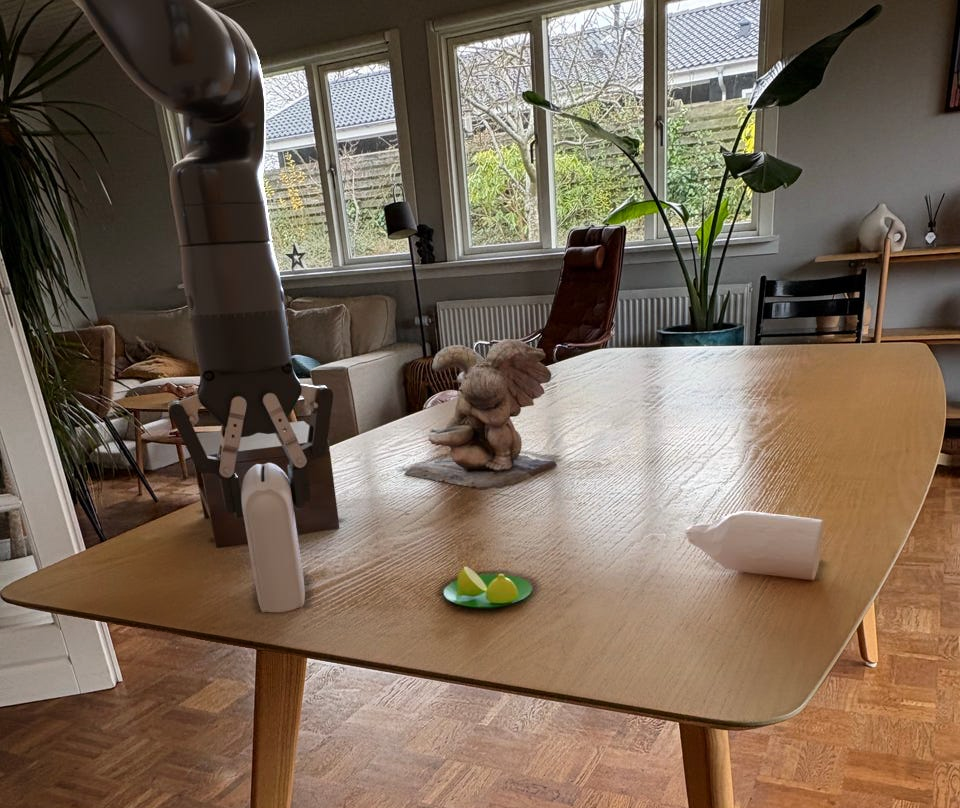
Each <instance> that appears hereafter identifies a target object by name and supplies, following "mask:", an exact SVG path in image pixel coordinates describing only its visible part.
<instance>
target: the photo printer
mask: <svg viewBox="0 0 960 808" xmlns="http://www.w3.org/2000/svg"><path fill="white" fill-rule="evenodd" d="M241 501H242V510H243V516H244V521H245V527H246V533H247V539H248V543H247V544H248V550H249V556H250V562H251V568H252V569H251V570H252V574H253V575H252V576H253V580H254V585H255V590H256V597H257V600H258V604H259V607H260V610H261V612H262V613H265V612H266V613H267V612H269V613H284V612H290V611H293V610H295V609H298V608H302V607H303V606H304V605H305V598H306V593H305V592H306V590H305V578H304V568H303V563H302V557H301V551H300V544H299V537H298V536H299V535H297V529H296V522H295V515H294V508H293V500H292V493H291V486H290V482H289V479H288V477H287V476H286V474H285V473H284V471H283V470H282V469H281V468H280V467H278V466H277V465H275V464H272V463H267V464H256V465H254V466H253V467H251V468H250V469H249V470H248V472H247V473H246V475H245V477H244V480H243V483H242V490H241Z"/></svg>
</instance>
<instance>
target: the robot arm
mask: <svg viewBox="0 0 960 808" xmlns="http://www.w3.org/2000/svg"><path fill="white" fill-rule="evenodd" d="M72 1H73V3H75V4H76V5H77V6H78V7H79V8H80V9H81V10H82V11H83V13H84V15H85V16H86V18H87V20H88V21H89V23H90V25H91V26H92V28H93V29H94V31H95V32H96V33H97V35H98V36H99V38H100V39H101V40H102V42H103V44H104V45H105V46H106V48H107V50H108V51H109V52H110V53H111V55H112V56H113V58H114V60H115V61H116V62H117V64H118V65H119V66H120V67H121V68H122V71H124V72H125V74H126V75H127V77H129V78H130V79H131V80H132V81H133V82H134V83H135V85H137V87H139V88H140V89H141V90H142V91H143V92H144V93H145V94H146V95H147V96H148V97H149V98H150V99H152V100H153V101H154V102H156V103H157V104H158V105H160V106H161V107H163V108H164V109H166V110H168V111H170V112H173V113H175V114H178V115H181V117H182V118H181V119H182V127H183V128H182V130H183V150H184V151H183V152H184V153H183V154H184V155H183V158H182V159H180V160H178V161H177V162H176V163H175V164H174V165H173V166H172V168H171V170H170V173H169V189H170V191H169V192H170V198H171V199H170V200H171V202H172V203H171V205H172V208H173V209H172V211H173V216H174V221H175V222H174V223H175V227H176V232H177V239H178V244H179V247H180V257H181V258H180V259H181V272H182V273H181V277H182V285H183V291H184V295H185V303H186V306H187V310H188V316H189V322H190V328H191V333H192V338H193V344H194V349H195V354H196V355H195V356H196V360H197V366H198V371H199V383H198V387H197V391H196V394H193V395H191V396H188V397H185V398H183V399H180V400H177V399H173V400H170V401H169V402H168V403H167V411H168V413H169V415H170V417H171V419H172V421H173V424H174V425H175V428H176V430H177V432H178V434H179V435H180V438H181V440H182V442H183V444H184V446H185V449H186V450H187V452H188V454H189V456H190V458H191V460H192V462H193V465H194V464H195V466H196V468H197V470H198V471H199V472H201V473H211V474H215V475H217V476H219V478H220V483H221V488H222V493H223V499H224V504H225V506H226V508H227V510H228V512H229V513H234V515H235V517H236V519H241V518H244V516H243V510H242V501H241V491H240V486H239V480H238V476H237V475H236V473H235V472H234V469H235V463H236V457H237V452H238V450H239V444H240V439H241V437H248V436H251V435H254V434H256V433H264V434H273V433H275V434H276V436H277V438H278V439H279V441H280V443H281V445H282V447H283V449H284V451H285V453H286V455H287V456H288V458H289V461H290V465H287V466H288V473H289V480H290V486H291V493H292V500H293V505H294V507H295V508H296V509H297V510H299V509H305V503H304V502H309V500H310V496H311V495H310V487H309V480H308V473H307V466H308V464H309V463H310V462H311V461H312V460H314V459H316V458H321V457H323V456H324V455H325V453H326V447H327V440H329V439H328V438H329V431H330V424H331V416H332V409H333V401H334V392H333V390H332V389H331V388H329V387H327V386H326V385H323V384H317V385H311V384H305V383H301V381H300V379H299V378H298V376H297V375H296V373H295V371H294V367H293V361H292V354H291V353H292V352H291V347H290V339H289V331H288V323H287V317H286V309H285V308H286V307H285V299H286V298H285V291H284V289H283V287H282V280H281V274H280V273H281V272H280V269H279V264H278V261H277V258H276V254H275V249H274V245H273V242H272V241H273V240H272V239H273V238H272V232H271V231H272V230H271V225H270V224H271V223H270V217H269V208H268V205H267V204H268V202H267V196H266V192H265V187H264V165H265V156H266V155H265V153H266V115H267V114H266V109H267V108H266V90H265V84H264V78H263V72H262V68H261V64H260V59H259V56H258V54H257V50H256V47H255V46H254V44H253V42H252V40H251V39H250V37H249V36H248V34H247V33H246V31H245V30H244V29H243V28H242V26H240V24H238V23H237V22H236V21H235V20H234V19H232V18H230V17H229V16H227V15H226V14H223V13H222V12H220V11H218V10H216V9H214V8H213V7H211V6H209V5H207V4H205V3H204V2H202V1H200V0H72ZM301 397H302V398H303V400H304V406H305V408H306V409H307V410H309V411H310V417H309V424H308V425H309V432H308V440H307V443H306V444H304V445H303V446H301V447H300V445H299V443H298V441H297V438H296V435H295V433H294V431H293V429H292V427H291V425H290V422H289V419H290V416H291V414H292V412H293V410H294V408H295V406H296V404H297V402H298V401H299V399H300V398H301ZM201 407H203V408H204V409H205V410H206V411H207V412H208V413H209V414H210V415H211V416H212V417H213V418H214V419H215V420H216V421H217V422H218V423H219V424H220V431H221V432H220V439H219V450H218V456H217V457H212V456H208V455H206V453H205V451H204V449H203V447H202V445H201V443H200V441H199V439H198V436H197V434H196V433H197V432H196V430H195V428H194V426H196V425H197V424H198V423H199V421H200V417H199V411H200V408H201Z"/></svg>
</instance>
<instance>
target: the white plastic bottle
mask: <svg viewBox="0 0 960 808" xmlns="http://www.w3.org/2000/svg"><path fill="white" fill-rule="evenodd" d="M824 529H825V523H824V520H823V519H818V518H812V517H804V516H796V515H787V514H777V513H769V512H764V511H762V512H761V511H752V510H741V511H738V512H737V511H736V512H734V513H731V514H728V515H724V516H722V517H720V518H718V519H715V520H713V521H712V522H711V523H699V524H693V525H691V526H688V527H687V528H686V529H685V530H684V533H685V535H686V537H687V541H688V543H690V544H692V545H693V546H694V547H696V548H698V549H699V550H700V551H702V552H703V553H704V554H705V555H707V556H708V557H709V558H710V559H711V560H712V561H714V562H715V563H716V564H718V565H720V567H722V568H723V569H726V570H730V571H736V572H742V573H749V574H750V573H752V574H757V575H758V574H759V575H768V576H774V577H783V578H791V579H800V580H806V581H807V580H808V581H814V580H815V578H816V575H817V572H818V569H819V566H820V565H819V564H820V561H821V560H820V559H821V556H822V546H823V539H824Z"/></svg>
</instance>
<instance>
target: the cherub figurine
mask: <svg viewBox="0 0 960 808" xmlns="http://www.w3.org/2000/svg"><path fill="white" fill-rule="evenodd" d="M544 359H546V353H545V351H544V350H543V349H542V348H536V347H532V346H530V345H528V344H526V342H525V341H522V340H518V339H510V338H505V339H502V340H501V341H498V342H497V343H494V344H492V346H491V347H490V349H489V350H488V352H487V355H486V358H484V357H483V356H482V355H481V354H480V353H478V352H477V351H475V350H474V349H472V348H470V347H467V346H465V345H463V344H454V345H450V346H446V347H444V348H442V349H440V351H438V352H437V353H435V356H434V358H433V362H432V365H431V369H432V370H433V371H435V372H437V373H439V372H444V371H446V370H448V369H451V368H457V369H458V368H459V369H460V370H461V372H463V373H464V375H465V376H464V377H463V378H462V381H461V384H460V386H459V388H458V391H459V393H458V394H457V398H456V399H457V400H456V404H455V406H454V413H453V416H452V417H450V418H449V420H448V421H447V423H446V424H445V426H444V427H443V428H439V429H434V428H431V429H430V430H429V433H428V437H427V440H428V442H430V444H431V445H435V446H442V447H449V448H450V450H449V453H450V457H448V458H444V459H439V460H435V461H434V462H430V463H429V462H428V463H427V462H426V463H418V464H415V465H413V466H410V468H409V469H407V470H406V471H405V472H404V473H403V476H404V475H405V476H409V477H416V478H422V479H428V480H432V481H433V480H434V481H436V482H444V483H447V484H453V485H457V486H461V487H469V489H471V488H474V489H475V490H486V489H492V488H496V489H497V488H498V489H503V487H507V486H511V485H515V484H517V483H520V482H522V481H524V480H526V479H529V478H531V477H533V476H536V475H538V474H541V473H543V472H545V471H548V470H550V469H552V468H554V467H557V463H556V461H555V460H542V459H538V458H535V459H534V458H532V457H530V456H528V455H523V454H521V451H522V445H523V441H522V436H521V435H520V433H519V432H518V431H517V429H516V428H515V425H514V423H513V421H512V419H511V418H516V417H518V416H519V415H520V414H521V411H522V408H526V407H532V406H535V403H534V400H535V399H539V398H541V397H542V396H543V395H544V394H545V389H544V387H543V386H542V385H543V384H548V383H550V381H551V380H552V375H553V374H552V372H551V370H550V368H549V367H548V366H546V365H544V364H543V363H541V362H540V361H542V360H544Z"/></svg>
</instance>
